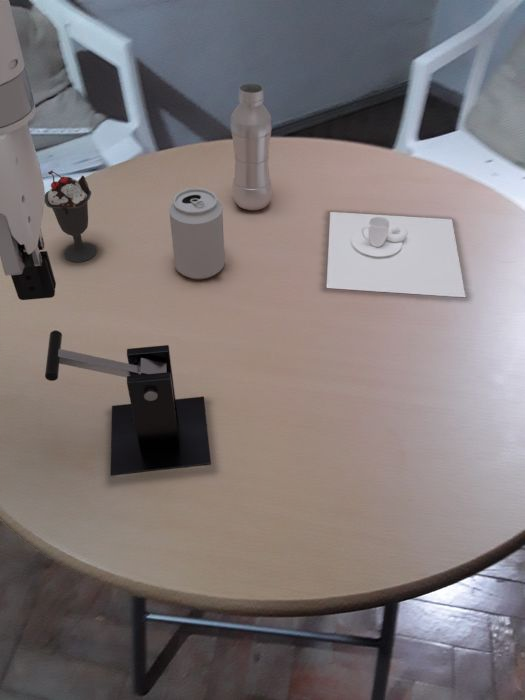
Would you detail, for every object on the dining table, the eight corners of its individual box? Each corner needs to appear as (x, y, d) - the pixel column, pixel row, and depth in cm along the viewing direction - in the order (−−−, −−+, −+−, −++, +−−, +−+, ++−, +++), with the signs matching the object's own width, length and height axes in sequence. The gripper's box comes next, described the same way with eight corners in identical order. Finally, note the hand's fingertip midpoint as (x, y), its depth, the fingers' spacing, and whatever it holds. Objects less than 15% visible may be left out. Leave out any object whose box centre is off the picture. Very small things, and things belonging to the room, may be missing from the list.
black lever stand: (112, 480, 75) (92, 405, 66) (113, 412, 82) (95, 335, 73) (211, 469, 76) (205, 393, 67) (204, 402, 83) (197, 326, 74)
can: (207, 246, 106) (203, 178, 98) (234, 270, 102) (232, 201, 93) (165, 263, 103) (157, 194, 95) (192, 289, 99) (186, 219, 90)
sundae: (53, 265, 102) (30, 177, 92) (64, 239, 107) (43, 152, 97) (97, 266, 102) (78, 178, 92) (106, 240, 107) (89, 153, 97)
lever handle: (42, 383, 66) (48, 367, 64) (47, 341, 70) (52, 324, 69) (160, 406, 71) (167, 391, 69) (158, 365, 75) (165, 350, 73)
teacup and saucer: (405, 231, 109) (409, 209, 107) (408, 261, 104) (412, 239, 101) (350, 227, 110) (353, 206, 107) (350, 257, 104) (353, 235, 101)
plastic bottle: (260, 219, 112) (260, 101, 98) (225, 208, 114) (220, 91, 100) (278, 200, 116) (281, 85, 102) (244, 190, 118) (242, 75, 104)
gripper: (-56, 59, 54) (6, 248, 67) (-101, 151, 43) (-17, 355, 56) (40, 54, 55) (83, 242, 68) (19, 143, 44) (75, 345, 57)
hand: (38, 292), depth 62 cm, fingers closed
